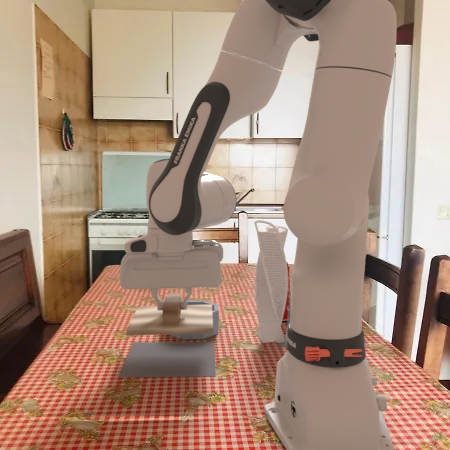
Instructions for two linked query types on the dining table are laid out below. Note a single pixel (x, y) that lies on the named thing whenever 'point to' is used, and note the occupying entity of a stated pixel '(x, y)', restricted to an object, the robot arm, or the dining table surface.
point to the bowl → (215, 322)
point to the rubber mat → (170, 360)
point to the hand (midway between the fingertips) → (172, 309)
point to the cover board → (186, 326)
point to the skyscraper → (271, 283)
